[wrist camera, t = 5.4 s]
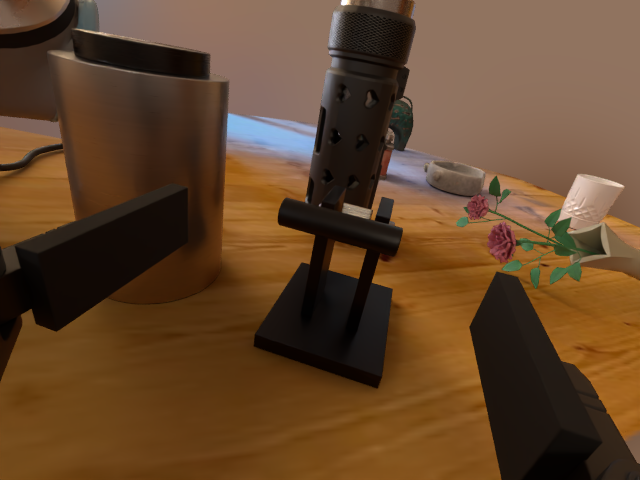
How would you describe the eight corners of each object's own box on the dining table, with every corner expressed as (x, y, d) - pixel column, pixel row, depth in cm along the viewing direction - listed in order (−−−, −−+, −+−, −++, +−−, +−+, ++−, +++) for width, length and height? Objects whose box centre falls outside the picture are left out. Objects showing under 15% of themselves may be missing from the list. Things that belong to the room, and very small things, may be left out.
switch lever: (392, 268, 16) (407, 218, 15) (272, 234, 17) (284, 187, 16) (388, 244, 28) (396, 216, 27) (318, 225, 28) (325, 197, 28)
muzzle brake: (357, 213, 55) (295, 209, 53) (405, 12, 43) (327, -8, 40) (378, 241, 47) (306, 238, 44) (446, 4, 35) (351, -22, 32)
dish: (476, 186, 87) (483, 167, 84) (487, 203, 74) (496, 182, 72) (419, 173, 88) (425, 154, 86) (421, 188, 76) (428, 166, 74)
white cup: (582, 234, 66) (611, 186, 62) (546, 217, 73) (569, 172, 68) (604, 233, 70) (633, 187, 65) (567, 217, 76) (591, 174, 71)
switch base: (377, 388, 25) (428, 252, 20) (253, 346, 27) (268, 208, 21) (389, 298, 36) (424, 193, 30) (300, 272, 37) (318, 167, 32)
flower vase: (640, 344, 49) (458, 297, 38) (589, 278, 58) (427, 222, 46) (737, 300, 42) (548, 225, 30) (661, 232, 51) (491, 152, 39)
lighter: (369, 168, 84) (379, 127, 79) (382, 170, 84) (393, 129, 80) (373, 178, 77) (384, 133, 72) (387, 180, 77) (399, 136, 72)
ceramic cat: (354, 146, 106) (369, 76, 97) (347, 141, 112) (360, 75, 103) (408, 152, 113) (427, 88, 104) (399, 147, 118) (416, 85, 109)
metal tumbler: (172, 320, 27) (163, 48, 19) (50, 279, 29) (-11, 13, 20) (240, 255, 38) (255, 61, 29) (147, 227, 40) (135, 37, 31)
